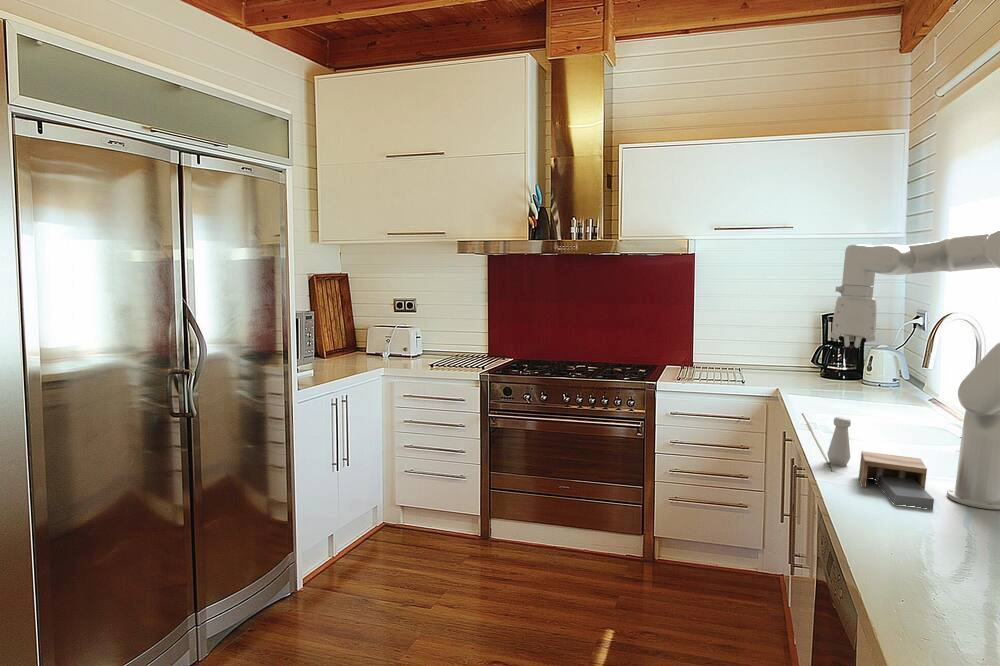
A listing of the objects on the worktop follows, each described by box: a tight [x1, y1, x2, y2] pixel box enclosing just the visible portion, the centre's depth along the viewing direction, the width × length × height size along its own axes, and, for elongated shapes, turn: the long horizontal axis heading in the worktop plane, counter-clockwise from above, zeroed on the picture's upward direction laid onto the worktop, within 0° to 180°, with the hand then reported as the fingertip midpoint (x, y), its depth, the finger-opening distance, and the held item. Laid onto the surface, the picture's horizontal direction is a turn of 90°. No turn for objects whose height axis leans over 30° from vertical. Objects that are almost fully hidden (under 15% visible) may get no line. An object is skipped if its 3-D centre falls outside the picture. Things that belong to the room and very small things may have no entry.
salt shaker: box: [826, 416, 852, 467], centre depth 210 cm, size 6×6×13 cm
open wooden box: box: [858, 450, 928, 491], centre depth 192 cm, size 10×14×7 cm
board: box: [877, 475, 935, 510], centre depth 184 cm, size 16×8×3 cm, turn 167°
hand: (849, 361), depth 202 cm, fingers closed
